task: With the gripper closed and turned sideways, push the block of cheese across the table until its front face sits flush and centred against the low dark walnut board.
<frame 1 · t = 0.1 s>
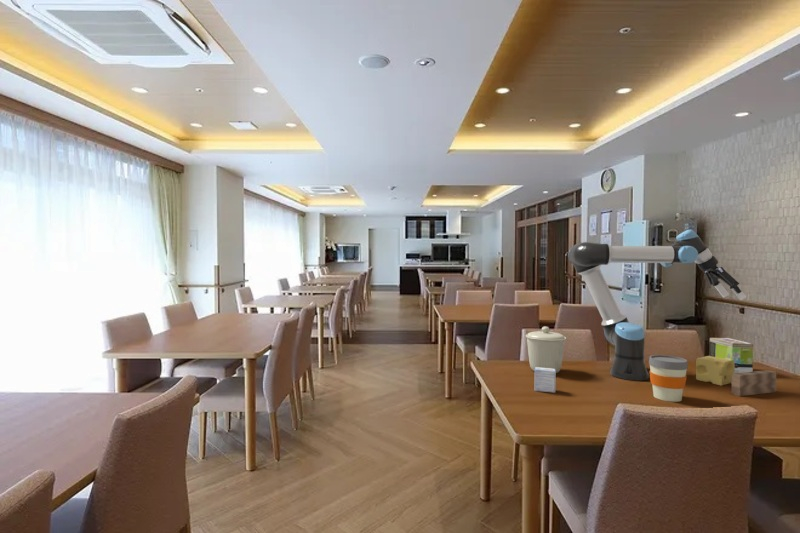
hand: (734, 297, 191), 36 cm above the table, tool tilted 35°, fingers open, 13 cm apart
reusable coffee cup: (667, 398, 159), on the table
medicine box: (544, 391, 167), on the table
cheese: (714, 381, 182), on the table
walnut board: (753, 392, 166), on the table
canister: (545, 371, 196), on the table
tea box: (730, 371, 199), on the table
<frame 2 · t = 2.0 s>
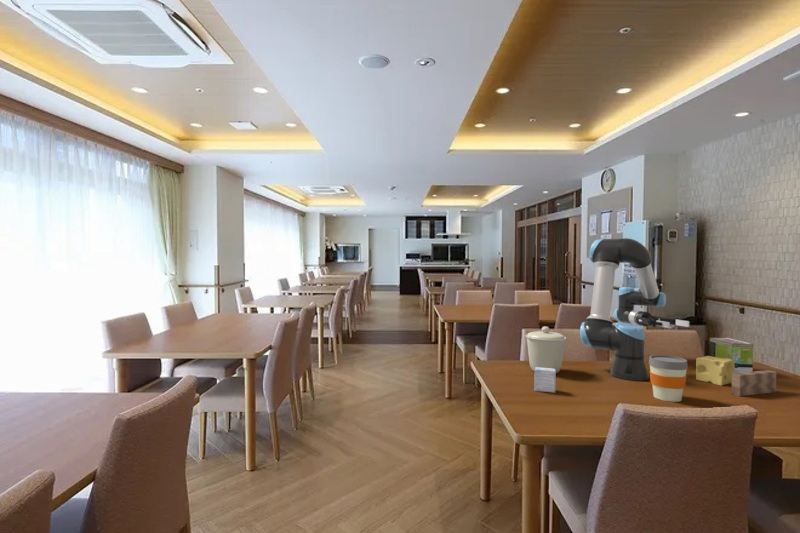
hand: (679, 324, 198), 22 cm above the table, tool horizontal, fingers open, 11 cm apart
nothing on the table moved.
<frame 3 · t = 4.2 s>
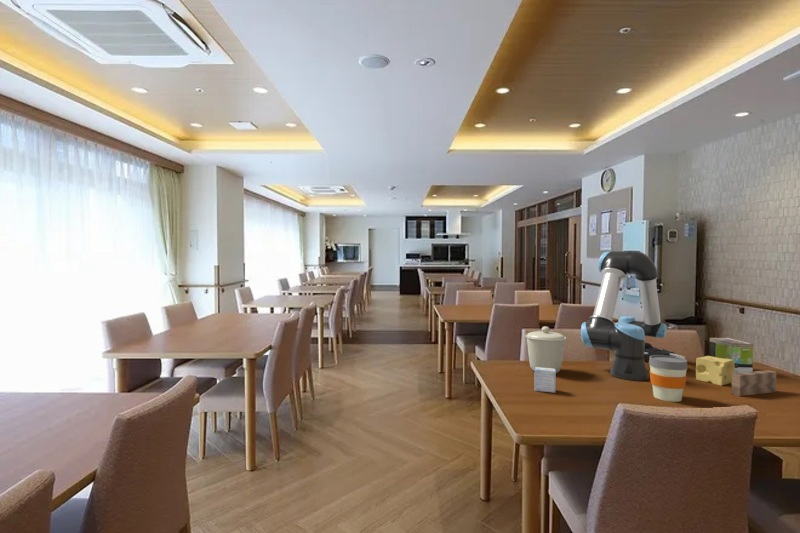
hand: (683, 359, 196), 6 cm above the table, tool horizontal, fingers closed
nothing on the table moved.
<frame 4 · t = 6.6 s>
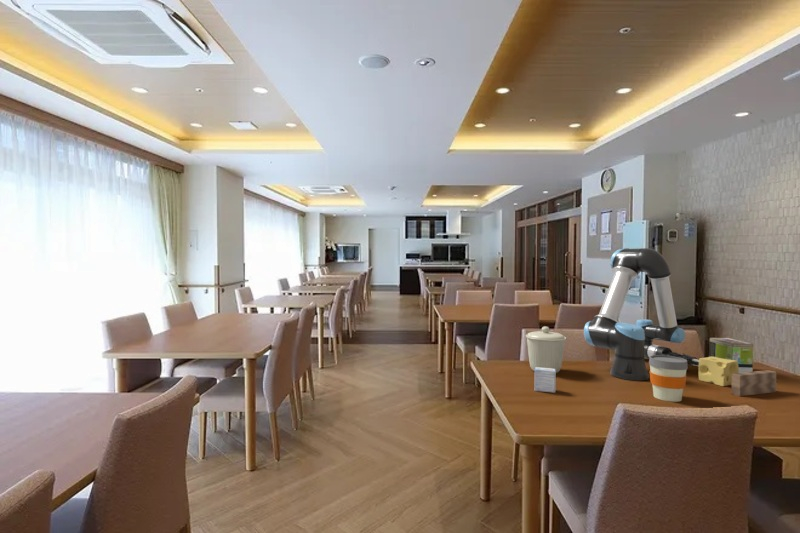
hand: (707, 365, 187), 6 cm above the table, tool horizontal, fingers closed
cheese: (717, 382, 180), on the table, touching gripper
everything else where it was.
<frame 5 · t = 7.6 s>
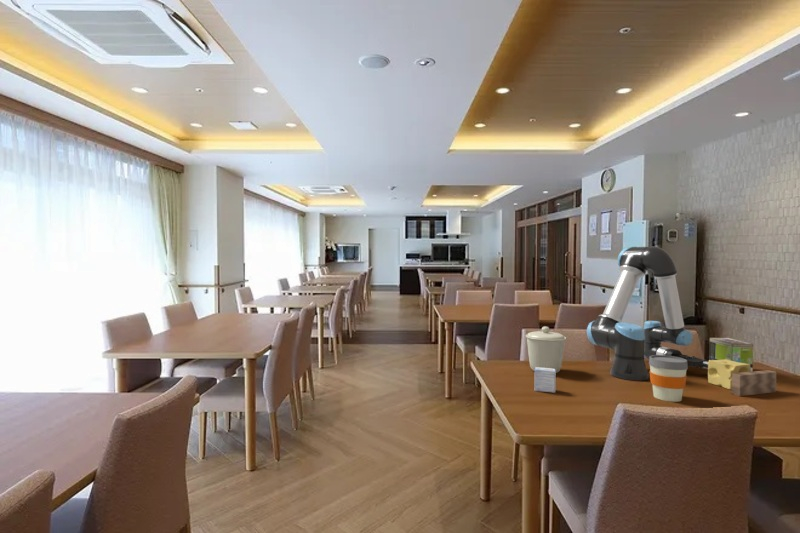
hand: (719, 368, 181), 6 cm above the table, tool horizontal, fingers closed
cheese: (728, 386, 175), on the table, touching gripper
everything else where it was.
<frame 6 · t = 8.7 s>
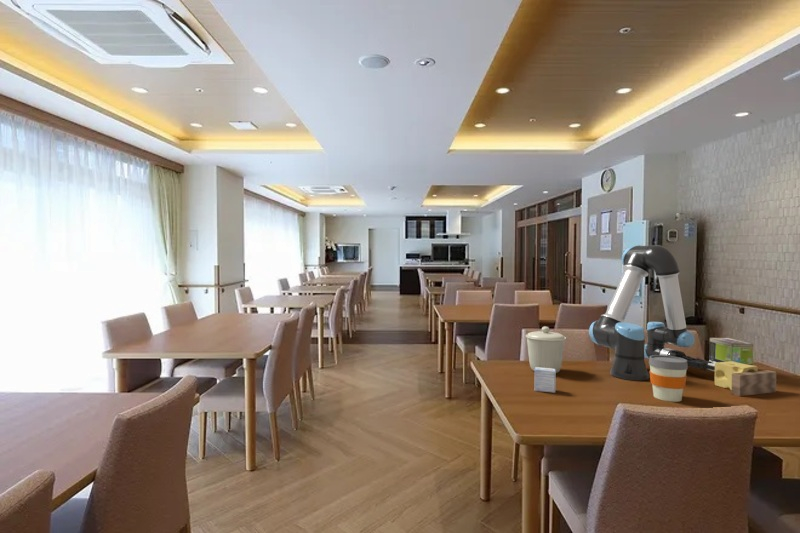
hand: (724, 370, 178), 6 cm above the table, tool horizontal, fingers closed
cheese: (735, 388, 172), on the table, touching gripper, walnut board
everything else where it was.
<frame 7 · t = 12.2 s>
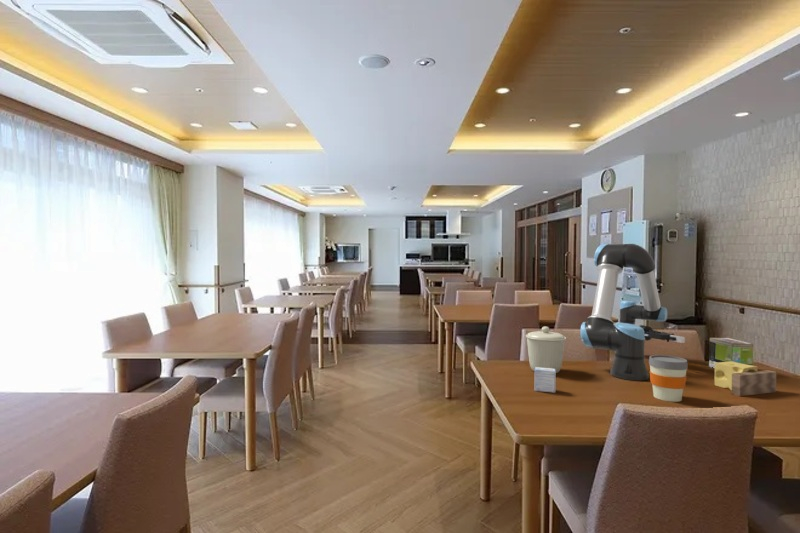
hand: (683, 340, 196), 15 cm above the table, tool horizontal, fingers closed
cheese: (734, 388, 172), on the table
everything else where it was.
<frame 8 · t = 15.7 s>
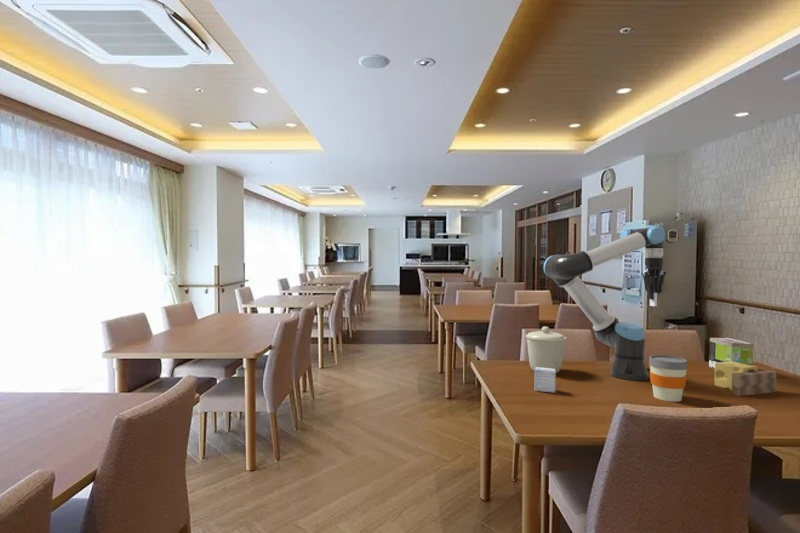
hand: (653, 305, 202), 30 cm above the table, tool pointing down, fingers closed
nothing on the table moved.
at the end: cheese inside the target area on the table beside the walnut board (0.9 cm from its centre), on the table; cheese tilted 0° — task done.
